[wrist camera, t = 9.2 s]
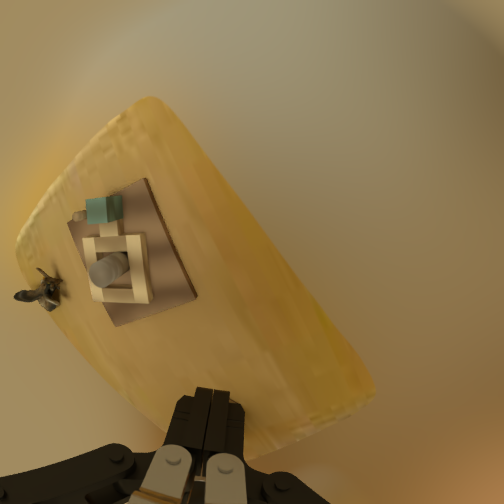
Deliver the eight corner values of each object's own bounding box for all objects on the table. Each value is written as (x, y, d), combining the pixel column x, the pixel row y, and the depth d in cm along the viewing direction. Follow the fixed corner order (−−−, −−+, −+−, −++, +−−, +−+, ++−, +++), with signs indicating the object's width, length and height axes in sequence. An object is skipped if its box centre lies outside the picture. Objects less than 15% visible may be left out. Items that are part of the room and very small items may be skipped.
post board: (197, 296, 37) (183, 324, 29) (118, 323, 38) (94, 350, 30) (146, 178, 33) (118, 177, 25) (71, 221, 34) (36, 231, 26)
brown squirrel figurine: (41, 252, 34) (15, 283, 34) (33, 280, 29) (7, 311, 29) (72, 279, 40) (45, 306, 39) (70, 308, 34) (42, 335, 34)
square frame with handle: (153, 298, 36) (141, 311, 31) (98, 296, 36) (84, 308, 31) (142, 193, 32) (127, 194, 28) (85, 199, 32) (67, 202, 28)
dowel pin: (96, 215, 33) (80, 219, 29) (90, 219, 33) (74, 223, 29) (93, 207, 33) (77, 210, 29) (87, 211, 33) (71, 214, 29)
